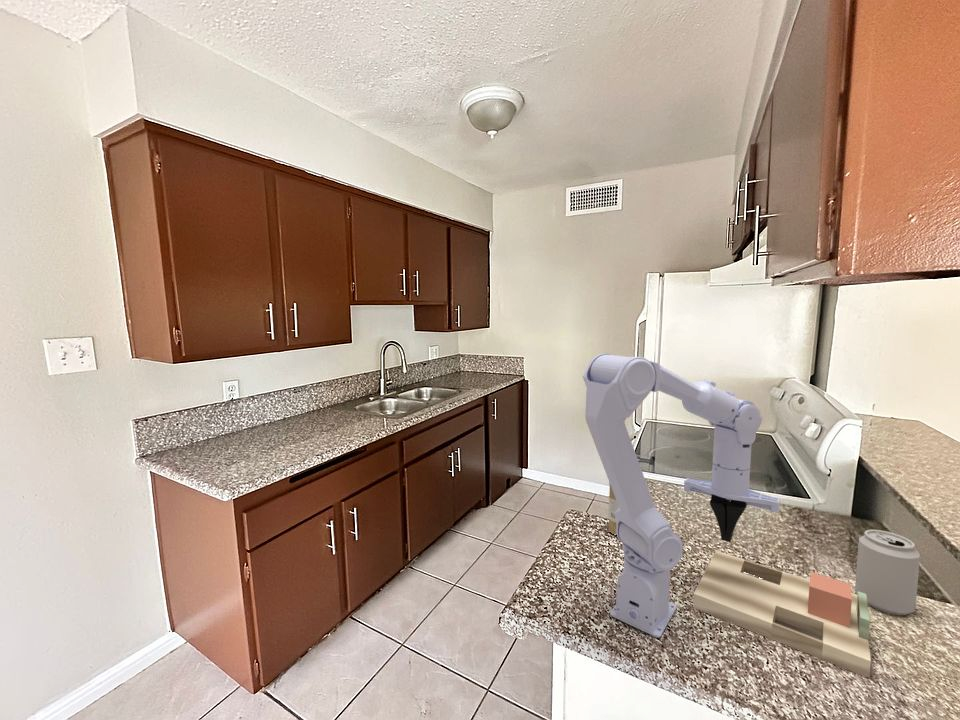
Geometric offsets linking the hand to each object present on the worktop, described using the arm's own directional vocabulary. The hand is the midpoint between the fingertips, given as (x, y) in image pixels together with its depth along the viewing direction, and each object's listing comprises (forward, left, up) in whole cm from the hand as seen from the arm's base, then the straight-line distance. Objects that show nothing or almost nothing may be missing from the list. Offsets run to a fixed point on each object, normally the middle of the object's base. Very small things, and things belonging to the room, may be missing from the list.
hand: (726, 538), depth 74 cm
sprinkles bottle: (+8, +23, -10) cm, 27 cm away
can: (+14, -22, -10) cm, 28 cm away
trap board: (0, -8, -10) cm, 13 cm away
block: (0, -14, -7) cm, 16 cm away
